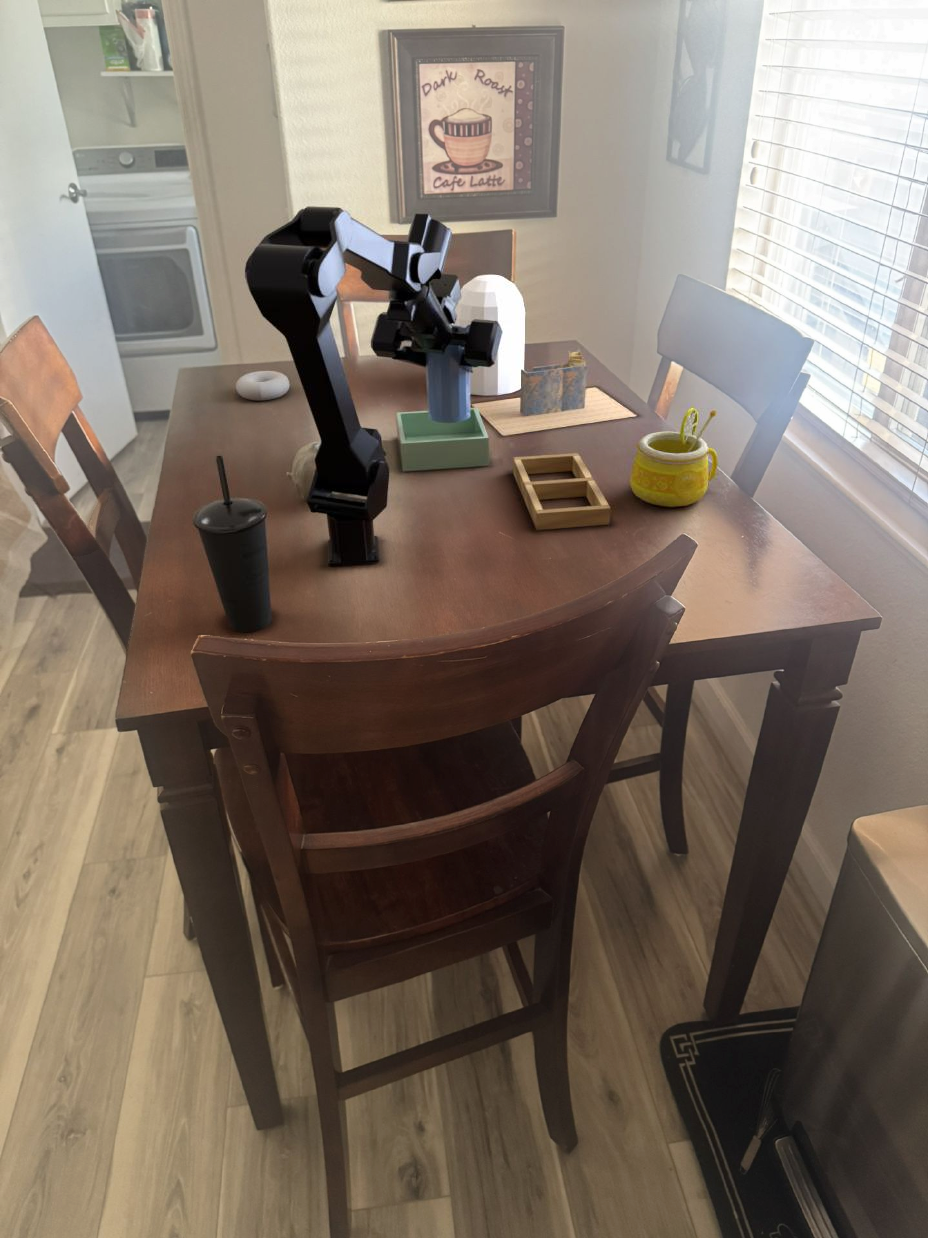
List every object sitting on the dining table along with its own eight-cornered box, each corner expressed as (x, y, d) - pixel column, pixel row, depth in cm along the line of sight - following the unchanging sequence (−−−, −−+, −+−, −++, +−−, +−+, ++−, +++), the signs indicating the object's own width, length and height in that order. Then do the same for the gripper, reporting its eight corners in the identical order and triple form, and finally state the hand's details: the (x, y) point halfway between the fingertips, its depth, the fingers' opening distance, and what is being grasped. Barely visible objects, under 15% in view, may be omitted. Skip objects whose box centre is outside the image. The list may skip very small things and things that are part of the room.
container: (536, 379, 167) (539, 270, 156) (502, 400, 157) (502, 286, 146) (477, 369, 173) (476, 264, 162) (441, 388, 164) (437, 278, 152)
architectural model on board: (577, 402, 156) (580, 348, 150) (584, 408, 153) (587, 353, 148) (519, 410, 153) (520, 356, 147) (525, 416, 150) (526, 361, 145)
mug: (649, 517, 117) (659, 433, 111) (617, 485, 126) (623, 406, 119) (733, 504, 120) (747, 422, 113) (695, 474, 129) (706, 396, 122)
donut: (283, 383, 169) (232, 390, 165) (281, 365, 167) (229, 372, 163) (296, 398, 161) (243, 406, 157) (294, 380, 159) (241, 387, 156)
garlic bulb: (356, 507, 127) (375, 446, 122) (329, 523, 120) (348, 459, 115) (302, 480, 129) (318, 419, 124) (272, 494, 121) (288, 430, 116)
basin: (489, 465, 133) (488, 437, 130) (402, 471, 132) (401, 443, 129) (477, 433, 144) (477, 407, 141) (397, 439, 143) (396, 412, 140)
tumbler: (479, 415, 133) (478, 330, 126) (446, 426, 130) (443, 339, 123) (452, 405, 138) (450, 322, 131) (419, 415, 134) (415, 330, 127)
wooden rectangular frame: (609, 524, 116) (610, 507, 114) (536, 530, 115) (537, 513, 114) (576, 468, 132) (577, 452, 130) (512, 472, 131) (512, 457, 129)
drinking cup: (255, 595, 102) (226, 436, 91) (297, 617, 98) (272, 453, 87) (202, 624, 98) (164, 459, 86) (244, 647, 93) (211, 478, 82)
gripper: (498, 260, 115) (521, 324, 129) (372, 254, 120) (408, 315, 135) (479, 336, 113) (504, 392, 128) (352, 325, 119) (390, 380, 133)
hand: (451, 367), depth 131 cm, fingers closed on tumbler, 7 cm apart
